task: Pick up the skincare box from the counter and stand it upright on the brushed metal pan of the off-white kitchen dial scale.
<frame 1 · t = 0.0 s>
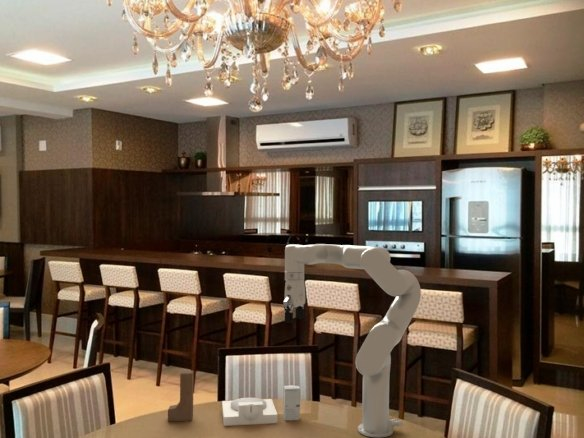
hand: (294, 320, 210), 37 cm above the table, tool pointing down, fingers open, 9 cm apart
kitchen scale: (248, 415, 210), on the table
skincare box: (291, 418, 208), on the table
wooden block: (180, 419, 206), on the table
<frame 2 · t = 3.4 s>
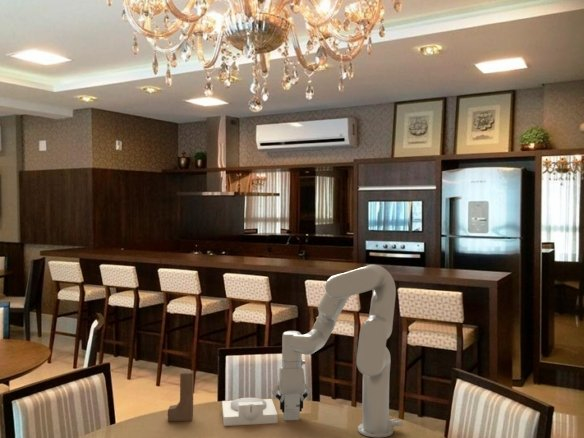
hand: (291, 410, 208), 3 cm above the table, tool pointing down, fingers closed on skincare box, 6 cm apart
skincare box: (291, 418, 208), on the table, touching gripper
everything else where it was.
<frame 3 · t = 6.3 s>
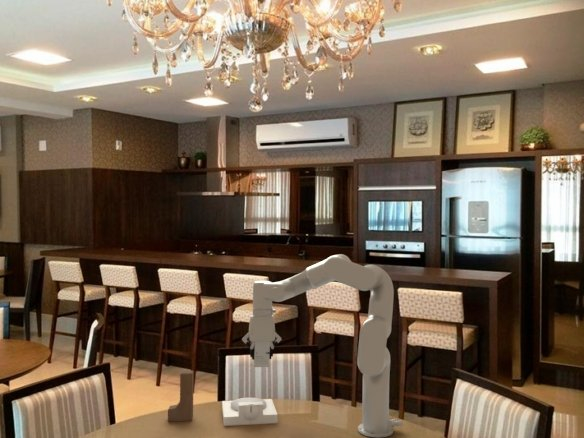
hand: (261, 358, 211), 22 cm above the table, tool pointing down, fingers closed on skincare box, 6 cm apart
skincare box: (261, 366, 211), point 19 cm above the table, touching gripper
everything else where it was.
when the fingers open (8 cm above the table, at t = 9.6 s): skincare box drops 1 cm, resting on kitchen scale.
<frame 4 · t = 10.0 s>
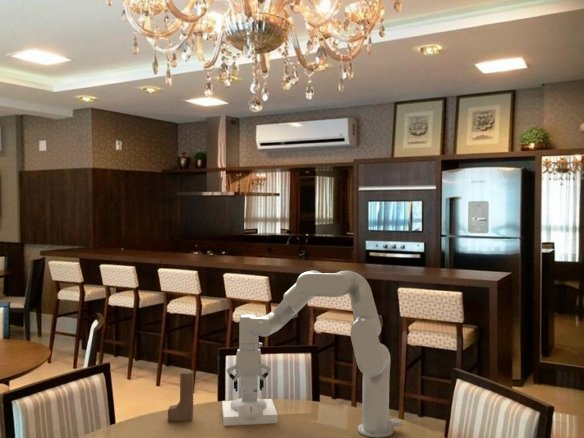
hand: (248, 390, 212), 9 cm above the table, tool pointing down, fingers open, 9 cm apart
skincare box: (249, 403, 212), point 4 cm above the table, touching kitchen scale
everything else where it was.
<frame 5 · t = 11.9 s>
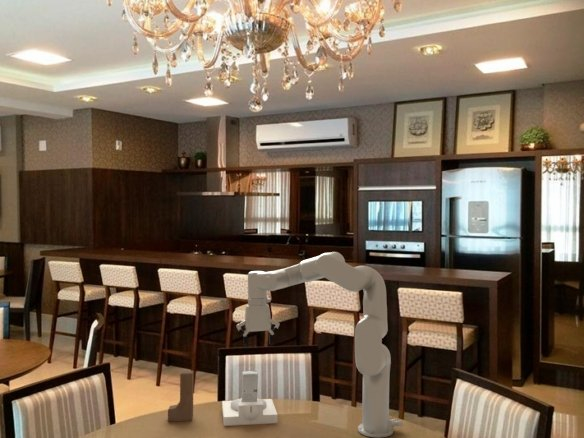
hand: (258, 345, 215), 26 cm above the table, tool pointing down, fingers open, 9 cm apart
nothing on the table moved.
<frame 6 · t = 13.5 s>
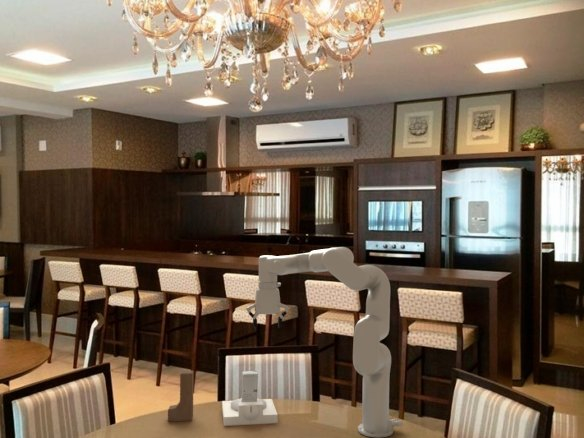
hand: (267, 328, 220), 32 cm above the table, tool pointing down, fingers open, 9 cm apart
nothing on the table moved.
at the end: skincare box inside the target area on the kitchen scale (0.4 cm from its centre), point 4.0 cm above the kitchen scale's base; skincare box tilted 0°; the gripper is holding nothing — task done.
